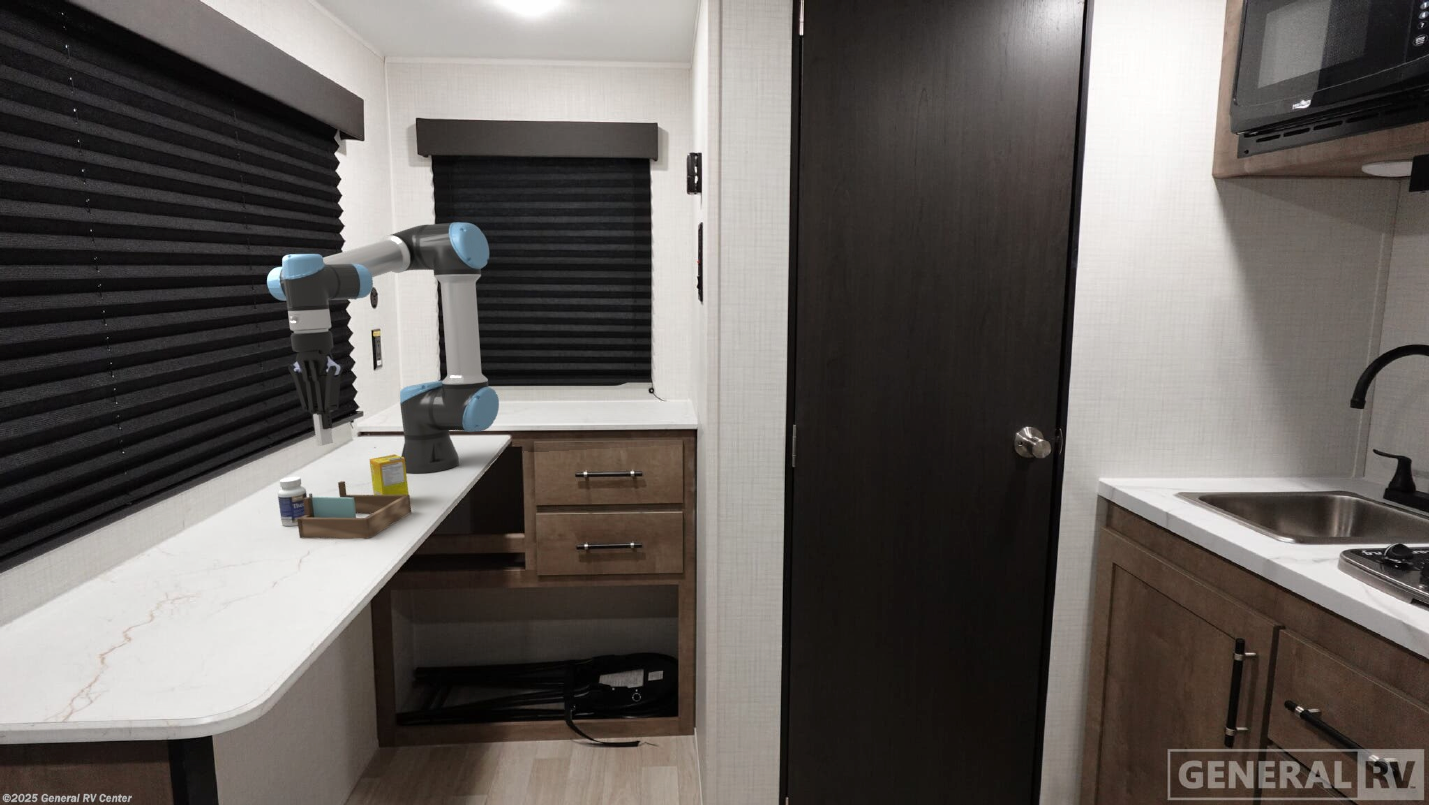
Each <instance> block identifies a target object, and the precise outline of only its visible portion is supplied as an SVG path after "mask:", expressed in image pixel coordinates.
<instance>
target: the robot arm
mask: <svg viewBox="0 0 1429 805" xmlns="http://www.w3.org/2000/svg"><path fill="white" fill-rule="evenodd" d="M489 259H490V248H489V243H488V240H487V238H486V236H485V234H484V233H483V232H482V231H481V229H480V228H479V227H478V226H477V225H475V224H473V223H470V222H459V221H457V222H455V221H454V222H447V223H434V224H419V225H416V226H413V227H410V228H406V229H404V230H400V231H397V232H395V233H392V234H389V235H386V236H385V235H384V236H383V237H382V238H381V239H379V242H375V243H372V244H368V245H365V246H361V247H358V248H353V249H350V250H347V251H342V252H339V253H336V254H331V255H329V256H324V257H323V255H321V254H319V253H295V254H286V255H284V256H283V257H282V259H281V260H282V261H281V262H282V263H281V264H282V266H278V267H275V268H272V270H270V272H269V273H268V275H267V280H266V284H267V288H268V291H269V293H270V294H271V295H272V297H273V298H275V299H276V300H279V301H286V307H287V313H288V322H289V329H290V331H293V333H292V332H291V335H290V340H291V348H292V351H293V352H296V353H297V354H296V362H294V363H293V364H290V365H288V371H289V373H290V374H291V376H292V378H293V381H294V384H295V389H296V392H297V395H298V397H299V400H300V404H301V408H302V410H303V411H306V412H308V413H309V414H311V422H312V427H313V429H314V432H315V433H314V434H315V440H316V441H315V442H316V446H321V447H322V446H325V445H330V444H333V442H334V441H333V435H332V433H333V432H332V428H333V420H332V412H334V411H336V410H339V405H340V391H341V390H340V389H341V375H342V373H343V372H344V371H343V370H344V365H343V364H337V363H336V362H335V361H334V357H333V355H332V354H331V350H332V349H334V341H333V340H334V339H333V332H332V331H330V330H329V329H331V328H332V323H331V322H332V321H331V315H330V314H331V313H330V306H329V304H330V303H329V301H340V300H357V299H364V298H366V297H368V296H369V295H370V294H371V292H372V290H373V286H374V283H373V282H374V279H373V278H375V277H377V276H381V275H385V274H387V273H395V274H399V273H403V272H406V271H422V270H425V271H426V270H427V271H430V270H431V271H433V277H434V278H435V279H436V280H437V281H438V282H439V283H440V290H441V292H440V293H441V306H442V316H443V318H442V319H443V331H444V333H443V334H444V343H445V344H444V345H445V347H444V348H445V356H446V358H445V359H446V360H445V362H446V371H447V375H446V377H445V378H444V379H442V380H435V381H431V382H430V381H429V382H423V383H422V382H421V383H417V384H413V385H409V386H405V387H403V388H401V390H400V393H399V399H400V400H399V401H400V402H399V405H400V412H401V419H402V420H401V421H402V428H403V429H402V431H403V438H404V439H403V440H404V442H403V447H402V451H401V455H400V456H401V457H404V459H405V467H406V474H423V473H424V474H425V473H426V474H427V473H436V472H441V471H445V470H449V469H452V468H455V467H457V466H458V465H459V464H460V462H459V461H460V460H459V454H458V451H457V450H456V447H455V446H454V444H453V441H452V439H451V434H450V431H453V432H454V431H459V432H460V431H461V432H462V431H463V432H468V433H472V432H483V431H486V430H487V429H489V428H490V427H491V426H492V425H493V424H494V421H495V420H496V419H497V416H498V413H499V407H500V400H499V396H498V393H497V392H496V390H495V389H493V388H491V387H489V381H488V380H489V379H488V378H487V377H486V376H485V375H484V374H483V373H482V363H481V361H482V360H481V348H480V344H481V343H480V332H479V316H478V303H477V302H478V301H477V290H476V288H477V285H476V283H477V281H478V280H479V279H480V278H481V277H482V273H481V272H482V270H481V269H483V268H484V267H486V265H487V264H488V261H489Z"/></svg>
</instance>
